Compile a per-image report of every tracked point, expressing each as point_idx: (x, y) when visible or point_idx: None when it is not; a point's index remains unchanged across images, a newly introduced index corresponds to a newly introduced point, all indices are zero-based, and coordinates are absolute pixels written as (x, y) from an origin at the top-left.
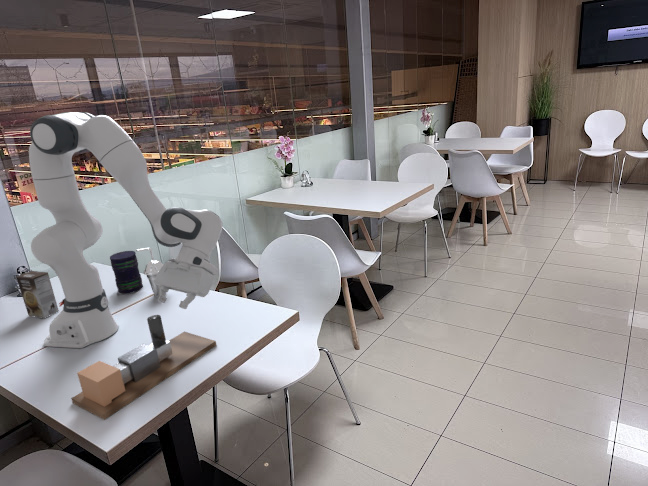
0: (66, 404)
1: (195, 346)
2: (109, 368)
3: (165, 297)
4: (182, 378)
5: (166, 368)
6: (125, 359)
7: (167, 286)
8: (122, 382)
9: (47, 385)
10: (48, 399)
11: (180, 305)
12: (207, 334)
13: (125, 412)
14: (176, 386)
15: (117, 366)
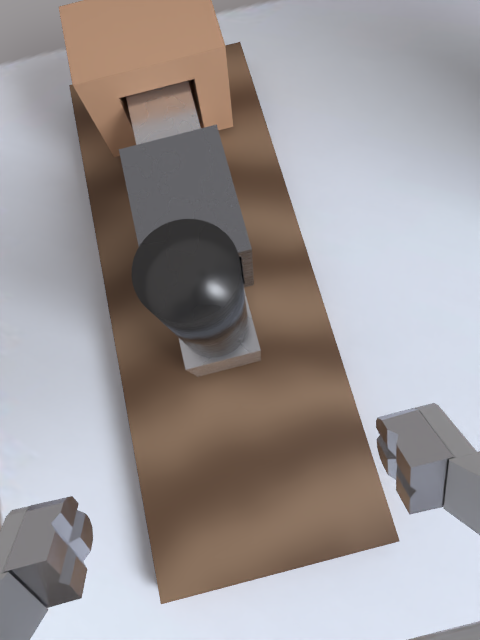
0: (250, 46)
1: (198, 496)
2: (117, 58)
3: (408, 496)
4: (64, 346)
5: (139, 318)
6: (172, 144)
7: (465, 625)
8: (99, 129)
9: (416, 25)
10: (323, 16)
11: (39, 510)
12: (309, 627)
13: (58, 148)
14: (40, 309)
15: (175, 120)
